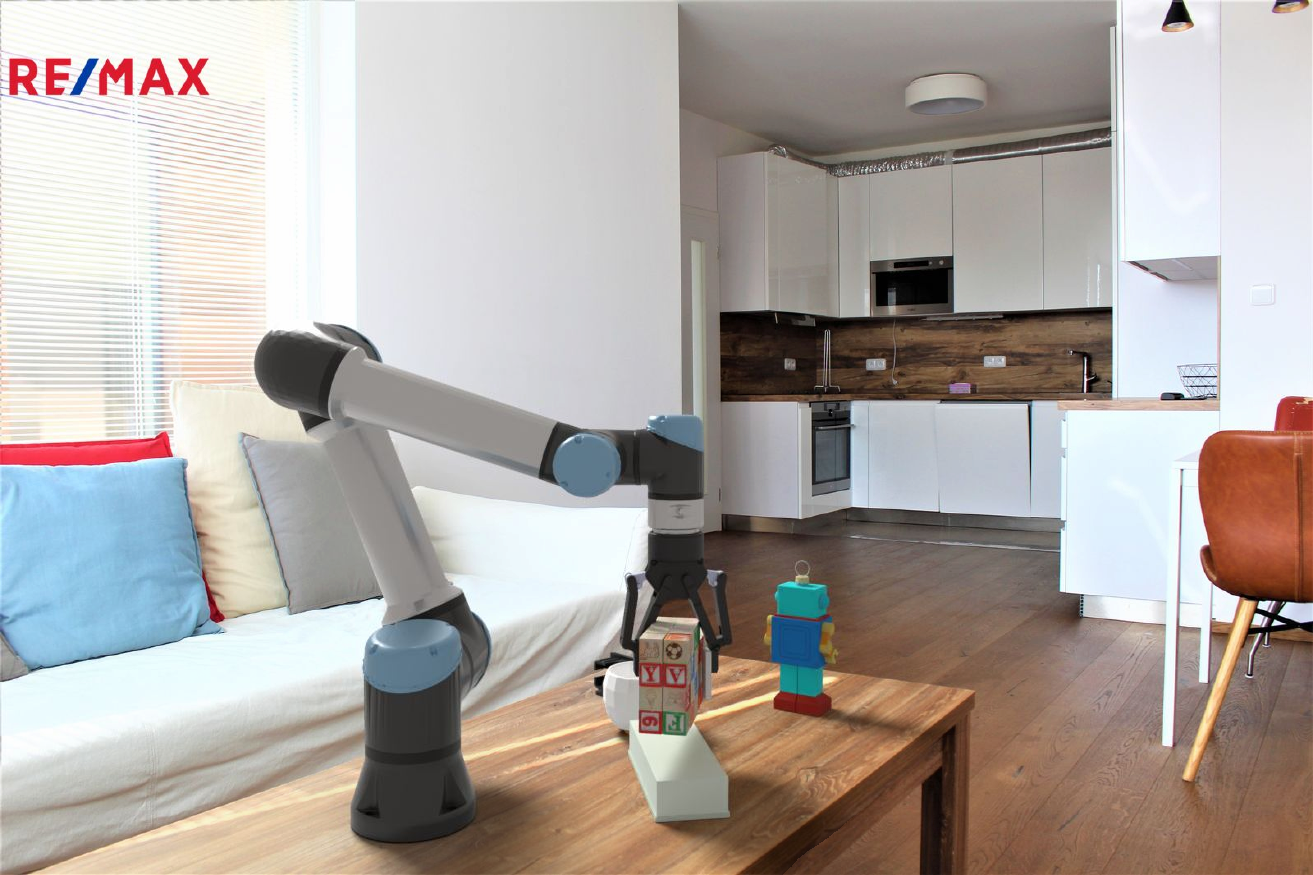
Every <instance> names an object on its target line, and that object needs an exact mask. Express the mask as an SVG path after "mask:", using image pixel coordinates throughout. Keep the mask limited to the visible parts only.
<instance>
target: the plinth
mask: <svg viewBox="0 0 1313 875" xmlns="http://www.w3.org/2000/svg"><path fill="white" fill-rule="evenodd" d="M628 735H629V744H628V745H629V747H628V748H629V749H627V756H628V757H629V761H630V762H631V766H632V768H633V770H634V773H635V775H636V778H637V781H638V783H639V785H640V788H641V791H642V793H643V795H644V797H645V800H646V802H647V805H648V807H649V811H650V813H651V815H652V817H653V821H654V822H655V823H664V822H665V823H666V822H667V823H668V822H679V821H681V822H682V821H694V820H695V821H696V820H711V819H722V818H723V819H725V818H727V819H728V818H730V817H731V812H730V810H729V776H728V774H727V773H726V771H725V770H724V768H723V766H722V765H721V763H719V762H720V761H719V760H718V758H717V757H716V756H715V754H714V753H713V751H712V750H711V747H710V746H709V745H708V743H707V742H706V739H705V738H704V736H703V735H702V734H701V732H700V730H699V729H698V727H697V725H696V724H695V722H693V724H692V726H691V728H690V729H689V731H688V733H687V735H686V736H677V735H664V734H646V733H639V720H630V731H629V734H628Z"/></svg>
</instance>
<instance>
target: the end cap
mask: <svg viewBox="0 0 1313 875" xmlns="http://www.w3.org/2000/svg"><path fill="white" fill-rule="evenodd" d="M609 655H610V656H609V657H606V658H602V659H601V658H600V659H598V660H597V659H596V660H594V662H593V670H594V671H599V670H604V669H606V671H607V670H608V668H609V667H610V666H612V665H615V664H617V663H622V662H628V661H633V656H630V655H626V654H622V653H619V652H616V651H611V652H609ZM605 675H606V673H605V674H603V675H598V676H594V677H593V685H594V686H593V687H594V688H596V689H597V690H595V691H594V692H595V695H596V696H600V697H602V698H603V682H604V679H605Z"/></svg>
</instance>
